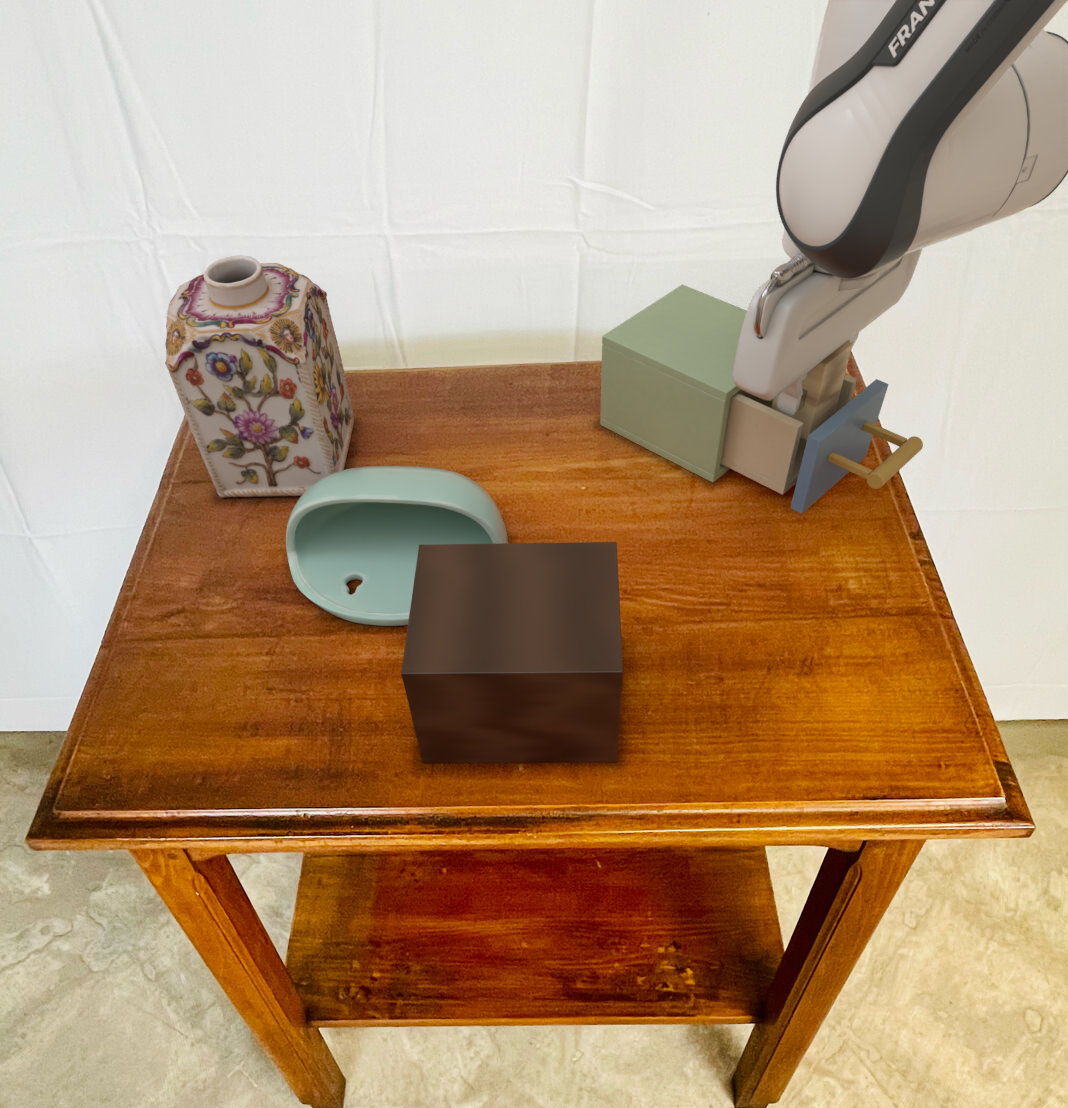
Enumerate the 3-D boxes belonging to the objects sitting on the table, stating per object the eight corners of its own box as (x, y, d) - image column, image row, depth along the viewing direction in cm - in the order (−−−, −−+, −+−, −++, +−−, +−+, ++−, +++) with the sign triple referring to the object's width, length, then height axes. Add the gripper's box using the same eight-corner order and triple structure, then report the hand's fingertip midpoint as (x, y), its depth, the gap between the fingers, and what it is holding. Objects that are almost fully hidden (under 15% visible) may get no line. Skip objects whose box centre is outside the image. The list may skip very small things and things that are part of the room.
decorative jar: (358, 421, 89) (315, 231, 75) (342, 497, 82) (292, 305, 68) (239, 424, 90) (174, 235, 75) (214, 500, 83) (136, 309, 68)
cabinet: (785, 424, 86) (805, 334, 79) (712, 483, 82) (726, 393, 74) (673, 372, 92) (682, 284, 85) (599, 425, 88) (602, 335, 80)
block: (794, 402, 80) (810, 326, 74) (833, 419, 78) (853, 343, 72) (768, 423, 78) (783, 347, 73) (807, 441, 77) (825, 365, 71)
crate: (611, 638, 71) (616, 541, 63) (616, 762, 64) (623, 671, 56) (436, 640, 72) (418, 544, 64) (422, 763, 65) (400, 673, 57)
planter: (513, 428, 76) (492, 562, 66) (517, 498, 82) (498, 630, 72) (294, 424, 77) (243, 554, 68) (314, 493, 83) (270, 622, 74)
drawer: (917, 480, 80) (945, 407, 74) (854, 540, 75) (878, 468, 69) (752, 404, 87) (765, 332, 81) (686, 455, 83) (694, 383, 77)
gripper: (804, 294, 59) (767, 469, 71) (957, 184, 68) (903, 356, 79) (726, 264, 62) (703, 437, 73) (882, 162, 70) (840, 332, 81)
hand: (808, 394), depth 76 cm, fingers closed on block, 4 cm apart
